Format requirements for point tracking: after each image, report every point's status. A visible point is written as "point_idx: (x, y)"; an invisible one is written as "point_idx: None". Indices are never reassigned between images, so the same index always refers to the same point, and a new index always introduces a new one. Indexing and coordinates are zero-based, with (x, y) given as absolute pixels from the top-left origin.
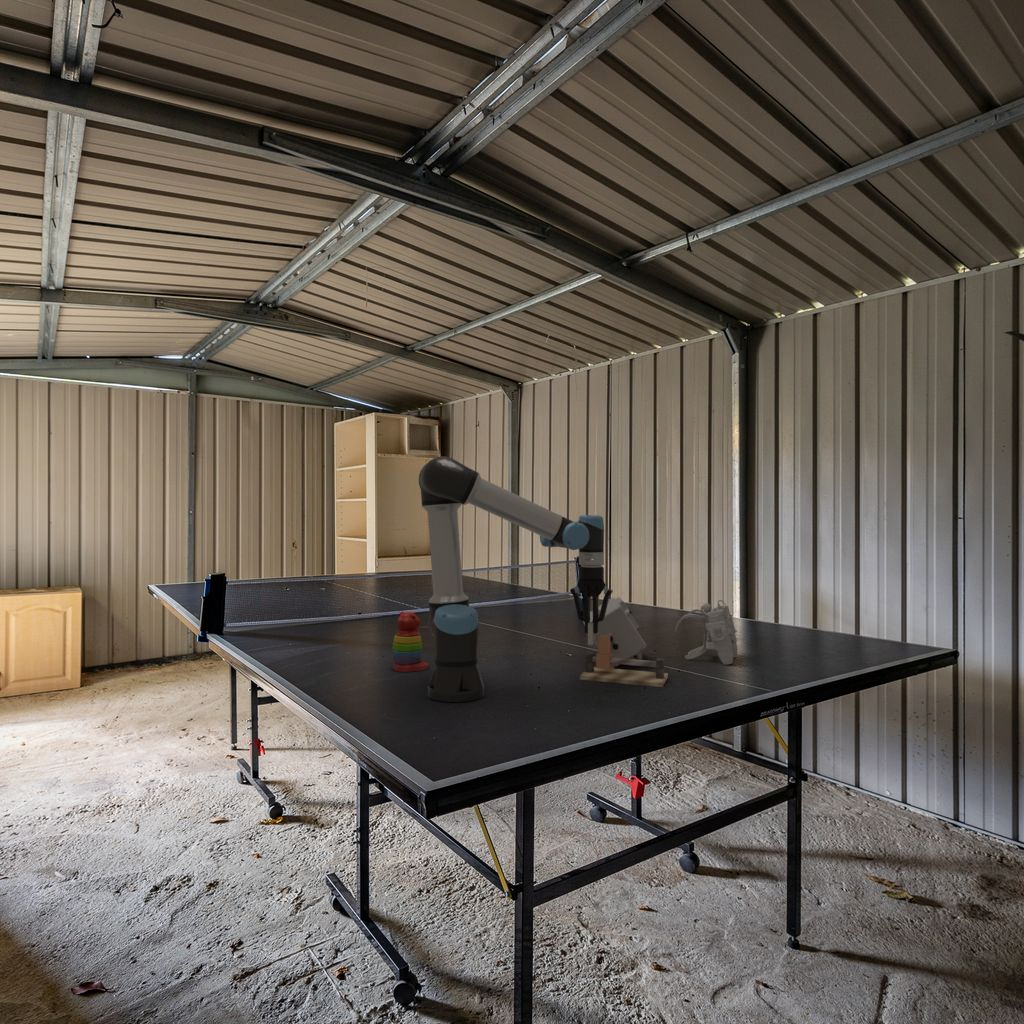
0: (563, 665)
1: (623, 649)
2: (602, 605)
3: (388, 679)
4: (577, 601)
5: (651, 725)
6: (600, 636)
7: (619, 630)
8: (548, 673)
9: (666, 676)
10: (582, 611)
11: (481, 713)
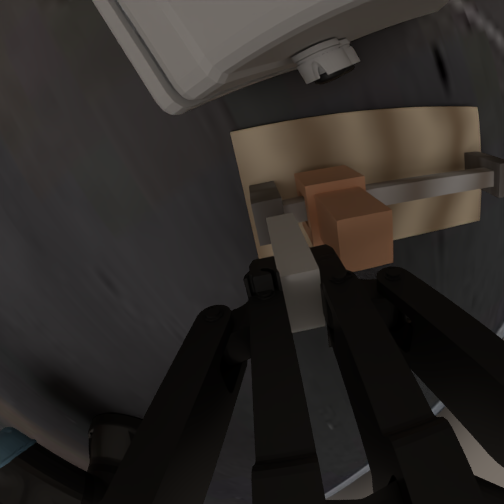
0: (113, 121)
1: (357, 35)
2: (451, 405)
3: (12, 403)
4: (199, 486)
5: None
6: (349, 259)
7: (379, 18)
8: (138, 248)
9: (479, 140)
10: (218, 361)
11: (226, 467)
